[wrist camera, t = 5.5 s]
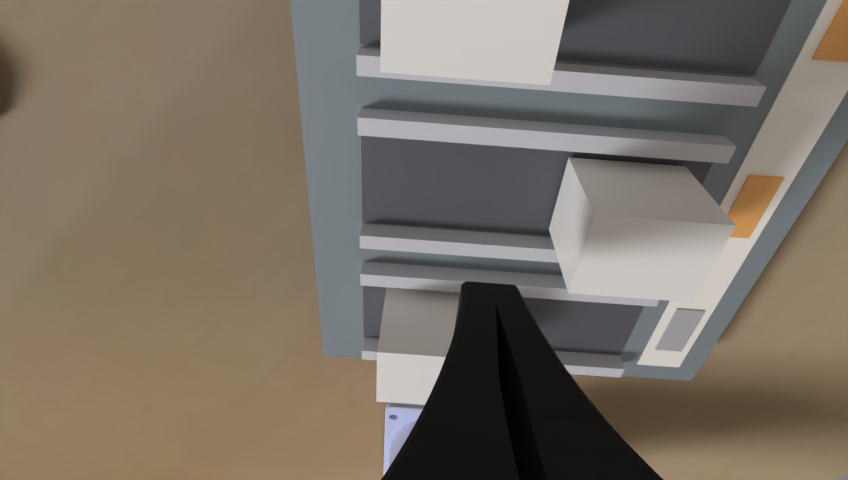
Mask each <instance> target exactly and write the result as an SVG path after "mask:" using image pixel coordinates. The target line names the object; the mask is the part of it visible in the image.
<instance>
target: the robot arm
mask: <svg viewBox="0 0 848 480" xmlns="http://www.w3.org/2000/svg"><path fill="white" fill-rule="evenodd" d="M381 480H663V479H662V478H661V477H660V476H659V475H658V474H657V473H656V472H655V471H654V470H653V469H652V468H651V467H650V466H649V465H648V464H647V463H646V462H645V461H644V460H643V459H642V458H641V457H640V456H639V455H638V454H637V453H636V452H635V451H634V450H633V449H632V448H631V447H630V446H629V445H628V444H627V443H626V442H625V441H624V440H623V439H622V437H621V436H620V435H619V434H618V433H617V432H616V431H615V430H614V428H613V427H612V426H611V425H610V424H609V423H608V422H607V421H606V419H605V418H604V417H603V416H602V415H601V413H600V412H599V411H598V410H597V409H596V407H595V406H594V405H593V404H592V403H591V401H590V400H589V399H588V398H587V396H586V395H585V394H584V392H583V391H582V390H581V388H580V387H579V386H578V385H577V383H576V382H575V380H574V379H573V378H572V376H571V375H570V373H569V372H568V371H567V369H566V368H565V366H564V365H563V364H562V362H561V361H560V359H559V358H558V356H557V355H556V353H555V351H554V350H553V348H552V347H551V345H550V344H549V342H548V341H547V339H546V337H545V336H544V334H543V333H542V331H541V329H540V328H539V326H538V324H537V322H536V321H535V319H534V317H533V316H532V314H531V312H530V310H529V308H528V306H527V305H526V303H525V301H524V299H523V297H522V295H521V293H520V291H519V289H518V288H517V287H516V285H511V284H497V283H484V282H470V281H466V282H464V283H463V284H461V290H460V296H459V303H458V309H457V316H456V322H455V329H454V335H453V338H452V341H451V344H450V347H449V350H448V353H447V355H446V358H445V360H444V363H443V366H442V368H441V371H440V373H439V376H438V378H437V380H436V383H435V385H434V387H433V389H432V391H431V393H430V396H429V398H428V400H427V402H426V404H425V405H419V404H404V403H388V404H387V405H386V410H385V440H384V473H383V478H382V479H381Z"/></svg>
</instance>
